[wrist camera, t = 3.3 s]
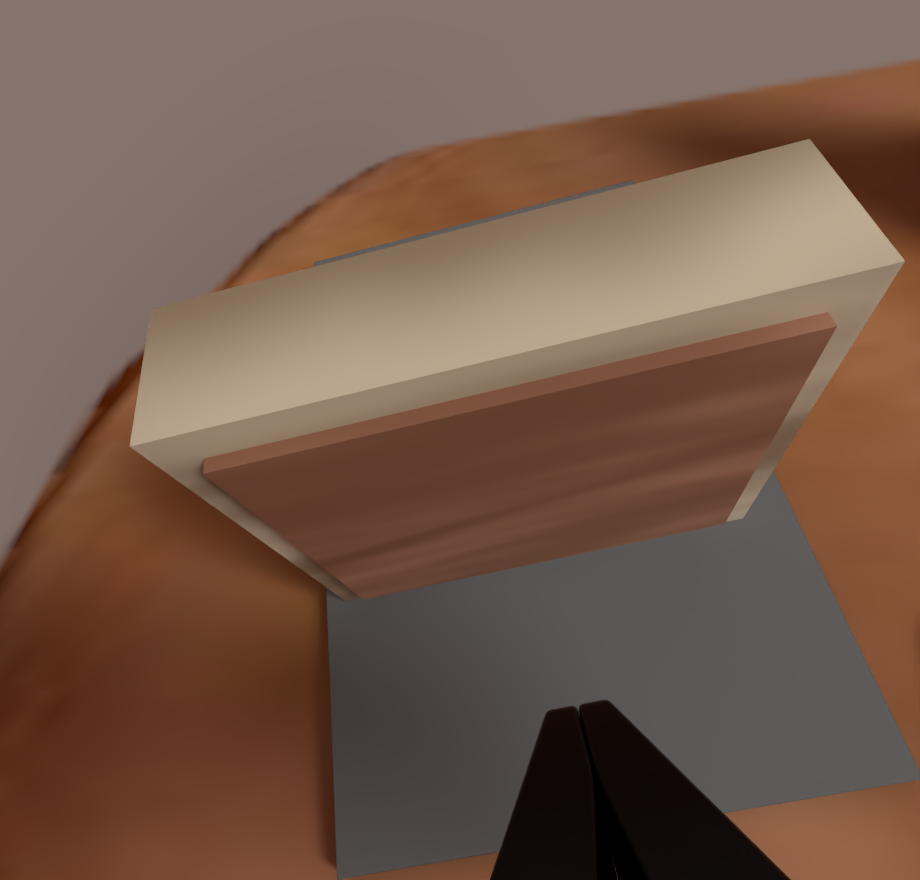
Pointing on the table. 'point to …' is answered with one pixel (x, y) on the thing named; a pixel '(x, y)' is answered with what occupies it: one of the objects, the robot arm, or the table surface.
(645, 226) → the small wooden box
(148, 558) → the table surface
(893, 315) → the table surface
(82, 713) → the table surface
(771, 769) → the rubber mat
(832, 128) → the table surface
